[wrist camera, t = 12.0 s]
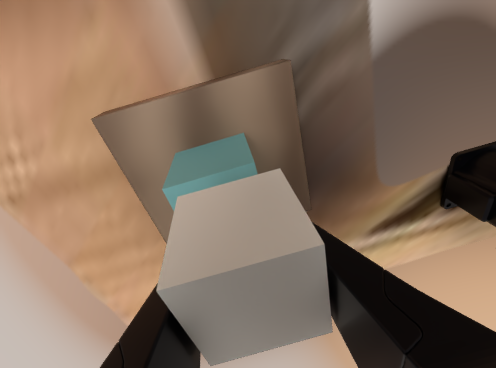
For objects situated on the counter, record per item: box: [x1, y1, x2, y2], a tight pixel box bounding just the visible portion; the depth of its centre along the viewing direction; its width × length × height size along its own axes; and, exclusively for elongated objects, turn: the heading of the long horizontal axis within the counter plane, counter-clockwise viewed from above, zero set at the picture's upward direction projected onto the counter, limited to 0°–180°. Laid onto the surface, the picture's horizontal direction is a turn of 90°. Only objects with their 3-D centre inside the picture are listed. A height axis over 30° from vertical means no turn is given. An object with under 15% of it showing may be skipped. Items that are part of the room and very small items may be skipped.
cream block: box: [156, 168, 332, 366], centre depth 8 cm, size 4×4×4 cm
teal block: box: [162, 133, 258, 211], centre depth 16 cm, size 5×5×5 cm
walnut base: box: [91, 59, 312, 244], centre depth 18 cm, size 13×12×2 cm
